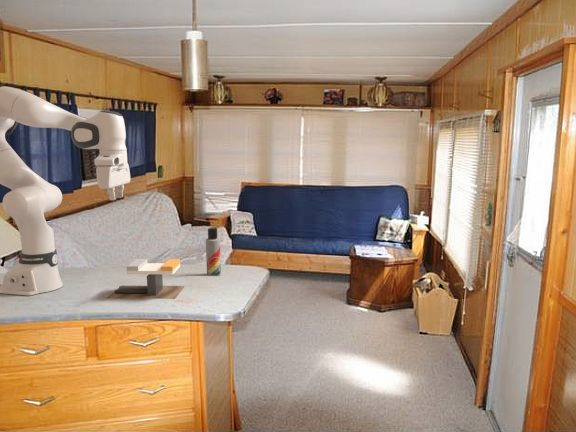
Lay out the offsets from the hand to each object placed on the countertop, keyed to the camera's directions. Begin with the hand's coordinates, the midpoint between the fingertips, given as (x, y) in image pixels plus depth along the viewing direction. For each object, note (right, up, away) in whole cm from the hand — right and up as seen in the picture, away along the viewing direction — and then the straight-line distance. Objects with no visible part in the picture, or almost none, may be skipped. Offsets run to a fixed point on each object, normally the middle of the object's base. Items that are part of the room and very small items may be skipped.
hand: (116, 198), depth 170 cm
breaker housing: (+12, -33, +5) cm, 36 cm away
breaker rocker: (+12, -26, +4) cm, 29 cm away
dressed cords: (+5, -33, +5) cm, 34 cm away
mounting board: (+9, -35, +6) cm, 36 cm away
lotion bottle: (+29, -30, +30) cm, 52 cm away
